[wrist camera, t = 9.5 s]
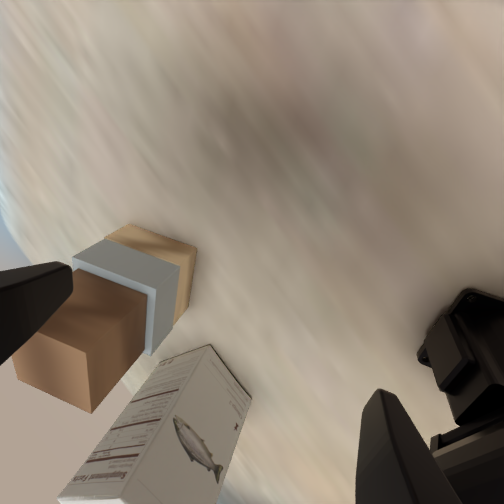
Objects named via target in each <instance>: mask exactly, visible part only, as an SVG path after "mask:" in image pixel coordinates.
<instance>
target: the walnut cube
mask: <svg viewBox="0 0 504 504" xmlns="http://www.w3.org/2000/svg"><path fill="white" fill-rule="evenodd" d="M72 274H73V285H74V289H73V292H72V294H71V296H70V297H69V298H68V299H67V300H66V301H65V302H64V303H63V304H62V305H61V307H60V308H59V309H58V310H57V311H56V312H55V313H54V314H53V315H52V316H51V317H50V318H49V319H48V321H47V322H46V323H45V324H44V325H43V326H42V327H41V328H40V329H39V330H38V331H37V332H36V333H35V334H34V335H33V336H32V337H31V338H30V339H29V340H28V341H27V342H26V343H25V344H24V345H23V346H22V347H20V348H19V349H18V350H17V351H16V352H15V353H14V354H13V355H11V356H12V359H13V363H14V367H15V370H16V374H17V378H18V380H20V381H22V382H25V383H27V384H29V385H31V386H33V387H35V388H37V389H40V390H42V391H44V392H46V393H48V394H50V395H52V396H54V397H57V398H59V399H61V400H63V401H65V402H67V403H69V404H72V405H74V406H76V407H78V408H80V409H82V410H84V411H87V412H88V413H91V414H92V413H93V411H94V410H95V409H96V408H97V406H98V405H99V404H100V403H101V402H102V401H103V399H104V398H105V397H106V396H107V395H108V393H109V392H110V391H111V390H112V389H113V387H114V386H115V385H116V383H118V381H119V380H120V379H121V378H122V377H123V375H124V374H125V373H126V372H127V371H128V369H129V368H130V367H131V366H132V365H133V363H134V362H135V361H136V360H137V359H138V357H139V356H140V355H141V354H142V353H143V351H144V350H145V331H146V311H147V295H146V294H144V293H141V292H139V291H136V290H134V289H131V288H128V287H126V286H123V285H121V284H118V283H115V282H113V281H110V280H108V279H105V278H103V277H100V276H97V275H95V274H92V273H90V272H87V271H84V270H82V269H79V268H78V269H76V270H75V271H73V272H72Z"/></svg>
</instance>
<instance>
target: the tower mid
mask: <svg viewBox="0 0 504 504" xmlns="http://www.w3.org/2000/svg"><path fill="white" fill-rule="evenodd" d="M72 262H73V271H75V270H76V269H78V268H79V269H82V270H84V271H87V272H90V273H92V274H95V275H97V276H100V277H103V278H105V279H108V280H110V281H113V282H115V283H118V284H121V285H123V286H126V287H128V288H131V289H134V290H136V291H139V292H141V293H144V294H146V295H147V311H146V331H145V350H144V351H143V353H144V354H147V355H149V356H151V355H152V354H153V353H154V352H155V350H156V349H157V348H158V346H159V345H160V344H161V343H162V341H163V340H164V339H165V338H166V336H167V335H168V334H169V332H170V331H171V330H172V328H173V320H174V312H175V304H176V296H177V288H178V280H179V272H180V266H178V265H175V264H173V263H170V262H167V261H165V260H162V259H159V258H156V257H154V256H151V255H148V254H146V253H143V252H140V251H137V250H135V249H132V248H129V247H127V246H124V245H121V244H119V243H116V242H113V241H110V240H108V239H103V240H102V241H100V242H98V243H96V244H94V245H93V246H91V247H89V248H87V249H85V250H84V251H82V252H80V253H78V254H76V255H75V256H73V257H72Z"/></svg>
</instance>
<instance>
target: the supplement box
mask: <svg viewBox="0 0 504 504" xmlns="http://www.w3.org/2000/svg"><path fill="white" fill-rule="evenodd" d="M250 403H251V398H250V397H249V396H248V395H247V394H246V392H245V391H244V390H243V389H242V388H241V386H240V385H239V384H238V383H237V381H236V380H235V379H234V377H233V376H232V375H231V373H230V372H229V371H228V369H227V368H226V367H225V365H224V364H223V363H222V361H221V360H220V359H219V357H218V356H217V354H216V353H215V352H214V350H213V349H212V347H211V346H210V345H208V346H205V347H202V348H199V349H196V350H193V351H190V352H188V353H185V354H182V355H179V356H176V357H173V358H171V359H168V360H165V361H163V362H160V363H159V365H158V366H157V367H156V368H155V370H154V371H153V372H152V374H151V375H150V376H149V378H148V379H147V380H146V381H145V383H144V384H143V385H142V387H141V388H140V389H139V391H138V392H137V393H136V394H135V396H134V397H133V398H132V400H131V401H130V402H129V404H128V405H127V406H126V408H125V409H124V411H123V412H122V413H121V414H120V416H119V417H118V419H117V420H116V421H115V422H114V424H113V425H112V427H111V428H110V429H109V431H108V432H107V433H106V434H105V436H104V437H103V439H102V440H101V441H100V442H99V444H98V445H97V446H96V448H95V449H94V451H93V452H92V453H91V455H90V456H89V457H88V459H87V460H86V461H85V463H84V464H83V465H82V466H81V468H80V469H79V471H78V472H77V473H76V474H75V476H74V477H73V478H72V479H71V481H70V482H69V483H68V484H67V486H66V487H65V488H64V489H63V491H62V492H61V493H60V495H59V496H58V497H57V500H58V501H59V502H60V503H61V504H216V502H217V499H218V496H219V493H220V490H221V488H222V485H223V481H224V479H225V476H226V473H227V470H228V467H229V464H230V461H231V458H232V455H233V452H234V449H235V447H236V444H237V441H238V438H239V435H240V432H241V429H242V426H243V423H244V421H245V418H246V414H247V412H248V409H249V406H250Z"/></svg>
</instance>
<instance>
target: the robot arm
mask: <svg viewBox="0 0 504 504" xmlns="http://www.w3.org/2000/svg"><path fill="white" fill-rule="evenodd" d="M73 289H74V285H73V274H72V268H71V267H70V266H69V265H66V264H64V263H61V262H58V261H55V262H49V263H44V264H38V265H32V266H27V267H21V268H16V269H10V270H5V271H0V365H1V364H3V363H4V362H5V361H6V360H7V359H8V358H9V357H10V356H11V355H13V354H14V353H15V352H16V351H17V350H18V349H19V348H20V347H22V346H23V345H24V344H25V343H26V342H27V341H28V340H29V339H30V338H31V337H32V336H33V335H34V334H35V333H36V332H37V331H38V330H39V329H40V328H41V327H42V326H43V325H44V324H45V323H46V322H47V321H48V319H49V318H50V317H51V316H52V315H53V314H54V313H55V312H56V311H57V310H58V309H59V308H60V307H61V305H62V304H63V303H64V302H65V301H66V300H67V299H68V298H69V297H70V296H71V294H72V292H73ZM469 296H474V297H473V298H472V299H467V298H468V297H469ZM423 357H428V358H423ZM417 358H418V361H419V362H420V363H421V364H423V365H425V366H428V367H431V368H432V369H433V373H434V376H435V379H436V382H437V386H438V388H439V390H440V391H442V392H444V393H446V396H447V399H448V402H449V405H450V408H451V411H452V414H453V417H454V420H455V423H456V424H457V425H459V426H460V427H458V428H456V429H454V430H451V431H449V432H447V433H445V434H443V435H441V434H438V435H435V436H433V437H431V442H430V450H429V448H428V447H427V445H426V443H425V442H424V440H423V438H422V437H421V435H420V433H419V432H418V430H417V429H416V427H415V425H414V424H413V422H412V420H411V419H410V417H409V415H408V414H407V412H406V411H405V409H404V407H403V406H402V404H401V402H400V401H399V399H398V398H397V396H396V395H395V394H393V393H391V392H388V391H386V390H383V389H377V390H376V391H375V392H374V394H373V395H372V397H371V398H370V400H369V401H368V402H367V404H366V405H365V407H364V409H363V412H362V419H361V429H360V439H359V449H358V459H357V469H356V489H355V498H356V504H504V299H503V298H500V297H497V296H494V295H491V294H488V293H485V292H482V291H479V290H476V289H466V290H464V291H463V292H462V293H461V294H460V295H459V297H458V298H457V299H456V301H455V302H454V303H453V305H452V306H451V308H450V309H449V310H448V312H447V313H445V314H443V315H442V316H441V317H440V319H439V320H438V322H437V323H436V324H435V326H434V327H433V329H432V330H431V331H430V333H429V334H428V336H427V337H426V338H425V340H424V345H423V346H422V348H421V349H420V350H419V352H418V353H417Z"/></svg>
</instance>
